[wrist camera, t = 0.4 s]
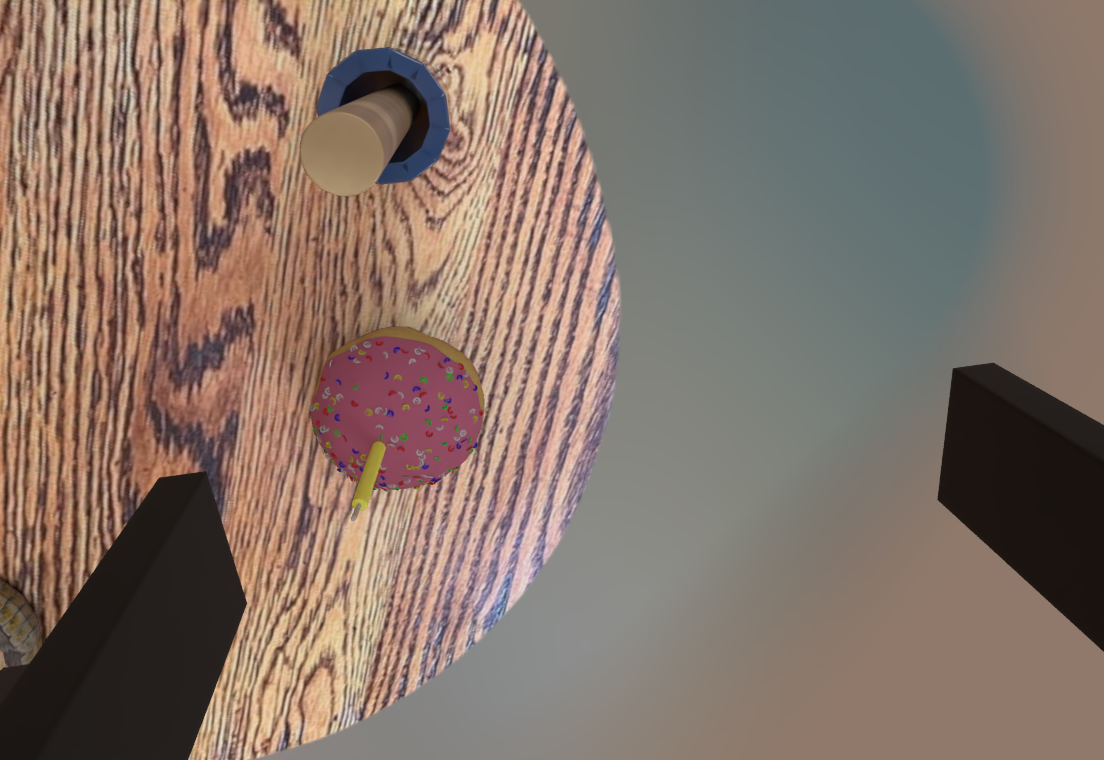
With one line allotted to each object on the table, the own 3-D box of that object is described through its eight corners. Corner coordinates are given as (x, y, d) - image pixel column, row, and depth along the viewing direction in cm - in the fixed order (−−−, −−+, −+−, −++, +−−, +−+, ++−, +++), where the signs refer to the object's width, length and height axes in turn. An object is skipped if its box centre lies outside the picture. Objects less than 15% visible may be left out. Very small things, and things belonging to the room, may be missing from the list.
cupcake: (411, 473, 45) (397, 606, 34) (291, 383, 42) (234, 497, 31) (512, 370, 44) (532, 476, 33) (394, 270, 41) (372, 348, 30)
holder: (335, 55, 36) (305, 55, 29) (441, 45, 37) (439, 42, 30) (355, 164, 38) (332, 190, 31) (456, 154, 39) (456, 176, 31)
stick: (372, 86, 37) (291, 115, 18) (414, 82, 37) (376, 107, 19) (379, 130, 38) (309, 201, 19) (421, 126, 38) (390, 191, 19)
